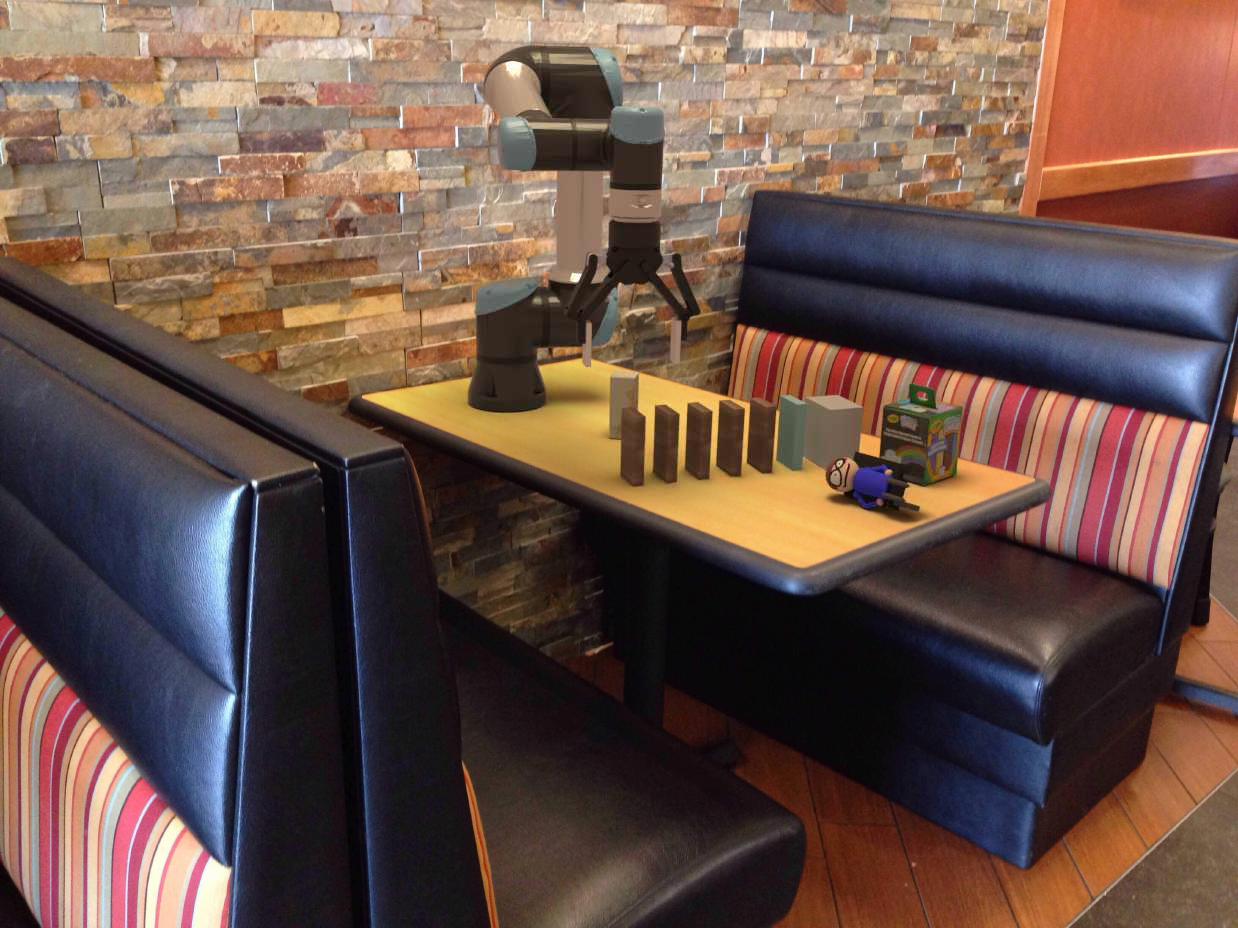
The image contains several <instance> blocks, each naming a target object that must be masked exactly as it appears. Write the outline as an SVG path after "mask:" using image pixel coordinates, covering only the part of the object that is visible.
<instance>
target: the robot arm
mask: <svg viewBox="0 0 1238 928" xmlns="http://www.w3.org/2000/svg"><path fill="white" fill-rule="evenodd" d="M483 80H484V81H483V93H484V96H485V100H486V102H487V105H488V106H489V107H490V109H491V111H493V112H494V113H495V114H496V115H498V116H499V119H500V120H499V123H498V126H497V134H496V135H497V136H496V137H497V138H496V139H497V140H496V141H497V142H496V144H497V156H498V163H499V165H500V167H501V168H502V169H504V170H507V171H519V172H522V173H526V172H556V236H555V237H556V238H555V239H556V241H555V243H556V245H555V246H556V253H555V255H556V263H555V264H556V266H555V268H554V269H553V270H552V271H551V273H550V274H549V275H548V276H547V283H548V284H547V286H539V284H538V282H537V280H536V279H534V278H531V277H523V278H522V277H513V278H505V279H500V280H496V281H492V282H488V283H485V284H483V285H481V286H480V287H478V289H477V291H476V292H475V293H476V294H475V308H474V310H473V311H474V315H475V351H476V352H475V353H476V355H475V356H476V357H475V358H476V360H475V367H474V370H473V373H472V376H471V380H470V383H469V386H468V389H467V403H468V404H469V405H470V406H472V407H474V408H476V409H480V410H484V411H491V412H522V411H530V410H534V409H538V408H541V407H543V406H545V405H546V403H547V388H546V385H545V381H544V379H543V375H542V373H541V370H540V367H539V364H538V350H539V349H551V348H553V349H554V348H555V349H556V348H582V364H583V366H585V368H592V347H602V346H603V347H604V346H605V345H607V344H608V343H609V342H610V341H611V339H612V337H613V335H614V332H615V330H616V325H617V320H618V313H619V293H618V290H617V289H618V288H617V286H618V285H619V284H622V285H624V286H631V285H633V284H636V285H641V286H644V285H646V284H647V283H650V284H651V285H652V286H653V287H654V289H655V290H656V292H658V294H659V295H660V296H661V297H662V299H663V300H664V301H665V302H666V304H667V305H668V306H669V308H670V309H671V310H672V311H673V312H674V314H675V315H676V316H677V317H671V321H670V322H671V323H670V325H671V327H670V345H669V346H670V348H669V349H670V351H669V361H670V362H672V363H673V364H674V365H680V363H681V346H682V345H681V343H682V342H683V341H684V342H685V341H687V338H688V324H689V323H688V322H689V321H690V319H691V318H692V317H694V316H695V317H696V316H699V315H700V314H701V309H700V306H699V304H698V301H697V300H696V299H697V298H696V297H695V294H694V293H693V290H692V288H691V286H690V284H689V281H688V279H687V276H686V274H685V272H684V269H683V265H682V264H683V262H682V255H681V254H680V253H678V252H676V251H674V250H673V251H670V252H669V253H664V254H663V253H661V235H662V234H661V231H662V230H661V229H662V223H661V222H660V221H659V220H658V218H660V217H661V216H662V196H663V195H662V194H663V192H662V191H663V190H662V189H663V168H664V167H663V165H664V141H665V139H664V138H665V136H666V131H665V114H664V112H663V109H661V108H660V107H657V106H632V105H629V106H628V105H624V106H623V103H624V90H623V87H624V86H623V80H622V73H621V68H620V64H619V61H618V59H617V57H616V55H615V54H614V52H613V51H612V50H610V49H609V48H602V47H596V46H590V45H586V46H570V45H569V46H565V45H556V46H555V45H538V44H537V45H536V44H531V45H530V44H529V45H523V46H519V47H515V48H513V49H511V50H509V51H507V52H504V53H502V54H501V55H500V56H499V57H498V58H496V59H495V60H494V61H493V62H492V64H490V65H489V68H488V69H487V70H486V73H485V75H484V79H483ZM604 172H609V197H608V201H609V202H608V216H610V217H611V218H612V219H611V220H609V222H608V238H607V239H608V240H607V241H608V244H607V245H608V247H607V252H606V254H603V213H604V212H603V209H604V208H603V207H604V205H603V204H604V203H603V202H604ZM663 263H664V264H665V267H666V268H668V269H669V270H670V272H671V274H672V277H673V279H674V282H675V283H676V287H677V288H678V290H679V293H680V295H681V297H682V299H683V302H684V303H685V306H686V307H685V308H684V307H683V306H682V304H681V302H680V301H679V300H678V299H677V298H676V296H675V295H674V294H673V292H671V290H670V289H669V288H668V287H667V285H666V284H665V282H664V281H663V280H662V278H661V277H660V276H659V274H658V273H657V272H658V270H659V269H660V267H661V266H662V265H663ZM604 264H605V265H606V266H607V268H608V270H609V272H608V273H606V272H605V270H604V269H603V268H602V265H604Z"/></svg>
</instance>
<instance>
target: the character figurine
mask: <svg viewBox="0 0 1238 928" xmlns="http://www.w3.org/2000/svg"><path fill="white" fill-rule="evenodd" d="M911 468H912V466H908V465H904V464H901V463H897V462H893V461H889V460H886V459H882V458H879V456H878V457H877V456H874V455H870V454H866V453H862V452H860V451H859V452H856V451H855V455H854V458H853V460H851V459H849V458H845V457H842V458H837V459H835V460H833V461H832V462H831V463H830V464H829V465H828V467H827V470H825V481H826V482H827V485H828V486H829V487H830V488H831V490H833V491H835V492H839V493H843V495H845V496H848V497H851V498H854V499H857V500H858V501H859V503H860V505H861V506H862V508H863V509H864V510H867V509H869V508H873V507H877V506H880V507H884V508H885V509H888V510H893V511H897V512H899V511H900V509H901V508H902V509H906V510H909V511H914V512H917V513H919V511H920V508H921V506H920V505H917V504H913V503H911V502H907V500H906V499H905V497H904V495H905V492H906V489H908V488H911V486H910V484H909V481H908V480H910V481H913V482H917V483H920V484H924V485H925V484H926V481H927V480H925V479H921V478H918V477H914V476H910V472H911ZM925 486H926V485H925Z"/></svg>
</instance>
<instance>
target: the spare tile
mask: <svg viewBox="0 0 1238 928" xmlns="http://www.w3.org/2000/svg"><path fill="white" fill-rule="evenodd" d="M778 408H779V411H778V425H777V437H776V439H777V442H776V455H775V461H777V462H778V463H779V464H780V465H783V466H785V467H786V468H787V469H789V470H790V471H792V472H793V471H799V470H803V463H804V456H803V452H804V439H805V425H806V412H807V403H805V401H804V400H800V399H799V398H797V397H795V396H793V395H791V394H785V395H780V396H779V407H778Z"/></svg>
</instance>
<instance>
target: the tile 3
mask: <svg viewBox="0 0 1238 928" xmlns="http://www.w3.org/2000/svg"><path fill="white" fill-rule="evenodd" d="M686 407H687V409H686V412H687V413H686V429H685V433H686V434H685V452H684V453H685V454H684V455H685V457H684V470H685V471H686V472H688V473H689V474H690V475H691V476H693V477H694V478H696V479H697V480H698V481H704V480H710V474H711V473H710V472H711V453H712V451H711V450H712V434H713V433H712V432H713V414H714V413H713V412H714V411H713V410H711V409H710V408H708V407H707V406H705V405H704V404H702V403H701V402H698V401H695V402H693V401H692V402H687V406H686Z"/></svg>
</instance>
